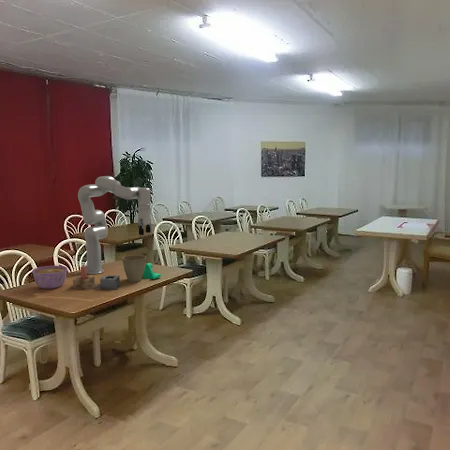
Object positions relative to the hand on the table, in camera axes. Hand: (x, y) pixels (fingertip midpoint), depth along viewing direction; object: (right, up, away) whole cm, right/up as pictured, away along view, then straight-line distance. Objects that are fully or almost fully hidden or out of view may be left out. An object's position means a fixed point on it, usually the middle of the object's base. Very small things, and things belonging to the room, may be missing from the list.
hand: (144, 233), depth 299 cm
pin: (-34, -31, -18) cm, 49 cm away
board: (-26, -33, -18) cm, 45 cm away
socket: (-18, -32, -19) cm, 41 cm away
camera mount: (+3, -30, +8) cm, 31 cm away
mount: (-34, -31, -18) cm, 49 cm away
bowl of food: (-54, -33, -18) cm, 65 cm away
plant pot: (-6, -31, -2) cm, 31 cm away
